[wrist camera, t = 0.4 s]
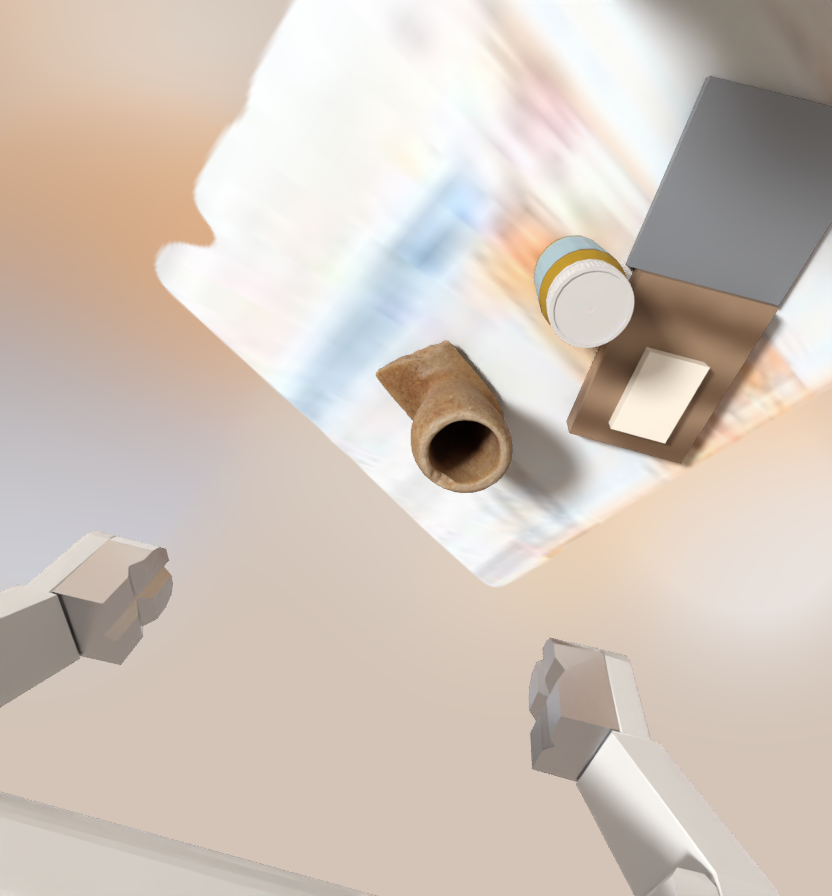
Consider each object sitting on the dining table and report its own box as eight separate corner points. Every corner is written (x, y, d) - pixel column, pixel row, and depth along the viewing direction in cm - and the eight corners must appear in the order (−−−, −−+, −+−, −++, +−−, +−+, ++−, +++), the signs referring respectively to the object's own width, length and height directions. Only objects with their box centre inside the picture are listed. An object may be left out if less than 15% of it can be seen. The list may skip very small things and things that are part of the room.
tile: (646, 346, 48) (650, 351, 47) (704, 362, 48) (710, 367, 46) (608, 422, 53) (610, 428, 51) (661, 436, 52) (665, 443, 51)
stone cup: (530, 412, 57) (537, 483, 44) (450, 458, 62) (435, 533, 49) (457, 309, 52) (440, 354, 39) (377, 367, 57) (339, 424, 44)
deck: (635, 266, 47) (642, 272, 44) (763, 300, 47) (778, 308, 44) (566, 421, 57) (569, 433, 54) (672, 450, 56) (680, 463, 54)
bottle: (531, 307, 51) (539, 353, 38) (536, 236, 47) (546, 261, 34) (600, 306, 49) (632, 353, 37) (610, 233, 46) (649, 257, 33)
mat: (706, 78, 39) (710, 76, 38) (885, 122, 39) (894, 121, 38) (625, 264, 47) (627, 266, 46) (773, 303, 47) (778, 305, 46)
